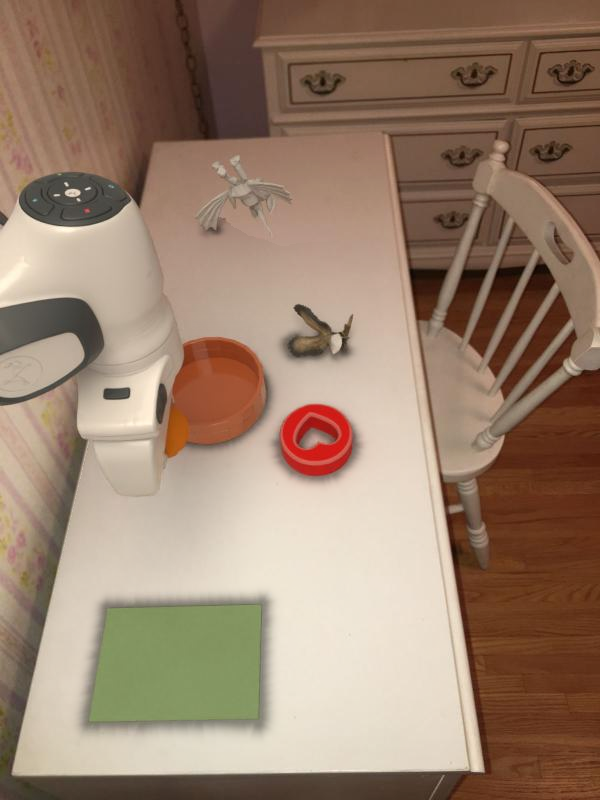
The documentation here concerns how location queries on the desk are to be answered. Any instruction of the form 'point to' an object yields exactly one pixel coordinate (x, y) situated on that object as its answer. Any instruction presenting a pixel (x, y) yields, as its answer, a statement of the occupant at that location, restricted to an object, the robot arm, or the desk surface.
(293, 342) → the eagle figurine
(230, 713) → the felt mat
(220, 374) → the pot
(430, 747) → the desk surface
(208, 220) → the grey winged dragon figurine
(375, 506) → the desk surface
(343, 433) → the decorative ornament
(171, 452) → the orange
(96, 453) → the robot arm
